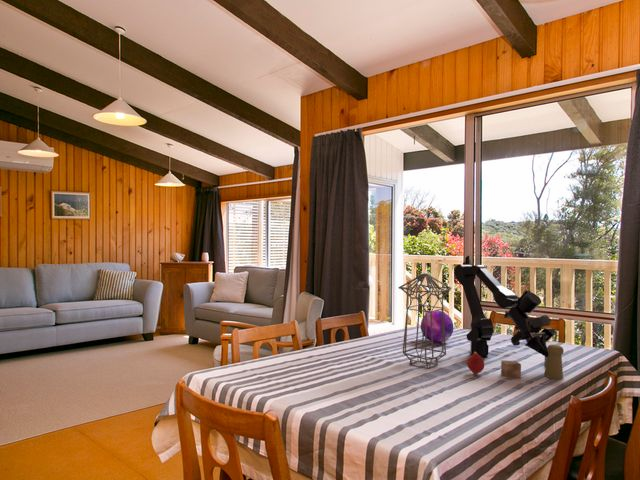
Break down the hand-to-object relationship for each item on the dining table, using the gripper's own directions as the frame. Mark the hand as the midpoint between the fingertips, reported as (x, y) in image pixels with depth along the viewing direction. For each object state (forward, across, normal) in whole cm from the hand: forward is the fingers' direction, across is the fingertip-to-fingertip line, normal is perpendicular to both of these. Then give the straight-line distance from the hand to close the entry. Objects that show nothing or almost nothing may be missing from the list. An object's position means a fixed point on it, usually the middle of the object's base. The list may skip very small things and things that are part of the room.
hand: (547, 356), depth 167 cm
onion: (-3, -24, +13) cm, 27 cm away
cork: (+6, +1, +4) cm, 7 cm away
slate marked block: (-1, +14, +11) cm, 18 cm away
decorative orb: (-37, +2, +47) cm, 60 cm away
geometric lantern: (-15, -33, +25) cm, 44 cm away
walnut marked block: (+2, -14, +8) cm, 16 cm away
